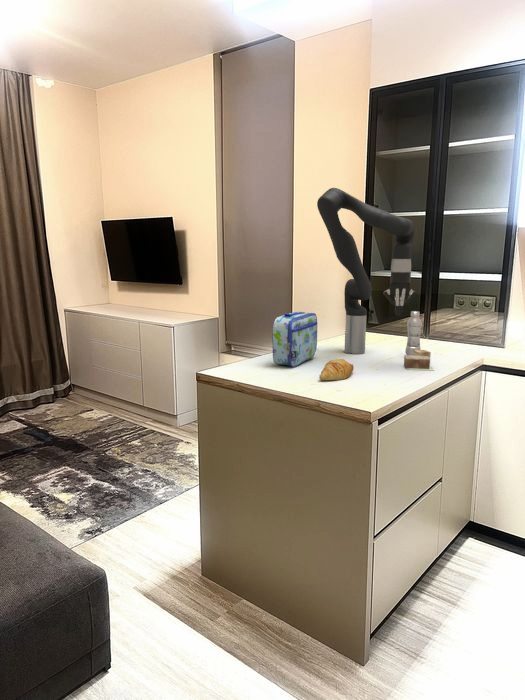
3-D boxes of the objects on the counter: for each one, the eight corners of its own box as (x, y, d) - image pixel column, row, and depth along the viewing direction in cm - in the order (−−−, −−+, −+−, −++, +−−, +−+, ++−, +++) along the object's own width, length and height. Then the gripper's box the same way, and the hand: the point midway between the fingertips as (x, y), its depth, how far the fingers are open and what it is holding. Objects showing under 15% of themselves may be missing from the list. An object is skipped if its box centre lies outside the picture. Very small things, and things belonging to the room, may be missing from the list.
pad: (407, 369, 204) (408, 369, 204) (404, 364, 214) (404, 363, 214) (434, 370, 203) (434, 370, 203) (429, 365, 212) (429, 364, 212)
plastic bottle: (421, 356, 231) (424, 311, 227) (419, 358, 225) (421, 312, 221) (406, 354, 234) (409, 310, 230) (403, 357, 228) (406, 311, 224)
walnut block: (406, 358, 205) (430, 359, 204) (404, 355, 211) (427, 356, 210) (405, 368, 206) (429, 369, 205) (403, 364, 212) (426, 365, 211)
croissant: (327, 393, 183) (336, 375, 180) (306, 376, 188) (315, 358, 184) (357, 380, 199) (366, 363, 196) (337, 365, 204) (346, 348, 200)
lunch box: (292, 369, 203) (293, 316, 199) (268, 366, 208) (269, 314, 204) (319, 358, 225) (321, 310, 221) (297, 355, 231) (298, 308, 227)
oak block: (418, 364, 215) (419, 352, 214) (413, 361, 220) (414, 350, 219) (429, 363, 215) (430, 352, 215) (424, 361, 220) (425, 349, 219)
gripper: (384, 271, 200) (382, 316, 203) (420, 271, 198) (417, 316, 201) (382, 270, 207) (380, 313, 210) (416, 270, 205) (414, 314, 209)
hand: (398, 315), depth 206 cm, fingers closed
